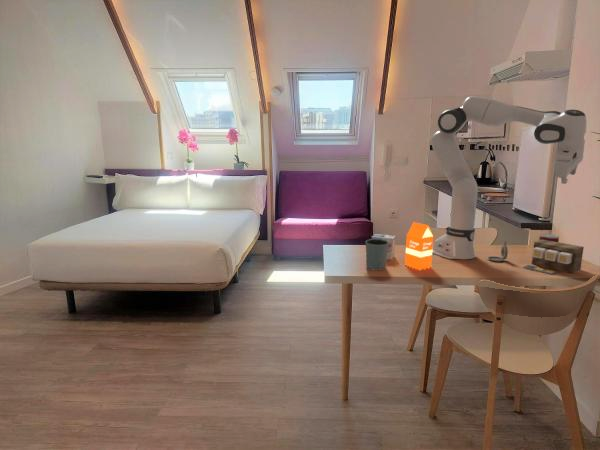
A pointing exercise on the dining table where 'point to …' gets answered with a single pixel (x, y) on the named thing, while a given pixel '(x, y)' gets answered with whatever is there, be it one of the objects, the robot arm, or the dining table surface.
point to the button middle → (552, 254)
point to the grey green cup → (376, 253)
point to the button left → (539, 252)
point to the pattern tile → (540, 269)
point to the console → (562, 247)
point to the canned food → (549, 237)
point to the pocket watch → (503, 254)
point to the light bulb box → (390, 243)
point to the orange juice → (419, 246)
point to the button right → (565, 257)
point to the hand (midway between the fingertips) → (568, 178)
